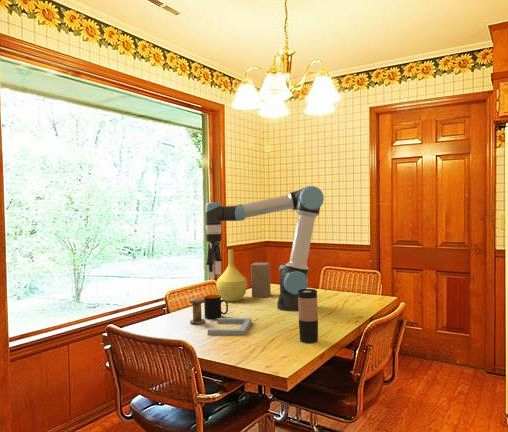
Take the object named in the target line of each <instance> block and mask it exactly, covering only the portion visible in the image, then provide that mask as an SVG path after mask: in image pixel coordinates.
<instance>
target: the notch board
mask: <svg viewBox="0 0 508 432" xmlns="http://www.w3.org/2000/svg"><path fill="white" fill-rule="evenodd" d="M216 321H217V324H227V325H228V324H229V325H230V324H238V325H240V324H242V325H241V326H240V328H208V329H207V336H245V335H246V333H247V332H248V331H249V328H250V327H251V324H252V323H253V321H252V318H251V317H250V318H249V317H241V318H240V317H236V318H235V317H221V318H218V319H216Z"/></svg>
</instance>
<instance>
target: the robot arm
mask: <svg viewBox="0 0 508 432" xmlns="http://www.w3.org/2000/svg"><path fill="white" fill-rule="evenodd" d="M324 197H325V196H324V194H323V191H322V189H320V188H319V187H317V186H315V185H307V186H305V187H302V188H300V189H298V190H296V191H295V190H294V191H292V192H288V194H286V195H280V196H275V197H271V198H265V199H262V200H257V201H252V202H247V203H243V204H238V205H221V202H219V201H218V202H217V201H216V202H214V201H213V202H206V204H205V226H204V229H205V231H206V235H205V236H206V238H205V240H206V242H208V243H209V244H208V245H207V246H208V248H207V259H206V266H208V268H207V269H208V270H207V271H208V273H207V274H208V279H209V280H210V279H215V275H222V272H221V271H222V270H221V269H222V268H221V262H222V261H223V258H222V253H221V247H220V242H221V241H222V222H238V221H239V222H241V221H245V219H247V218H253V217H257V216H262V215H267V214H273V213H277V212H282V211H287V210H291V211H296V213H297V220H296V224H295V225H296V226H295V229H294V236H293V239H292V240H293V241H292V246H291V251H290V257H289V261H288V262H287V263H285V264H281V265H280V266H279V270H278V271H279V297H278V300H277V304H276V307H277V310H282V311H291V312H294V311H298V290H301V289H308V285H309V279H308V275H309V266H308V265H307V262H308V258H309V253H310V247H311V243H312V242H311V241H312V237H313V236H312V235H313V233H314V232H313V231H314V226H315V222H316V221H315V220H316V218H317V217H319V215H320V212H321V206H322V205H323V204H324V200H325V199H324Z"/></svg>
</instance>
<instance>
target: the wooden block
mask: <svg viewBox="0 0 508 432" xmlns="http://www.w3.org/2000/svg"><path fill="white" fill-rule="evenodd" d="M270 266H271V263H270V262H252V264H250V274H251V276H250V277H251V280H250V281H251V298H253V297H255V298H256V299H257V298H260V299H264V298H266V299H268V298H269V297H270V296H271V295H272V291H271V267H270ZM255 298H254V299H255Z"/></svg>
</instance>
